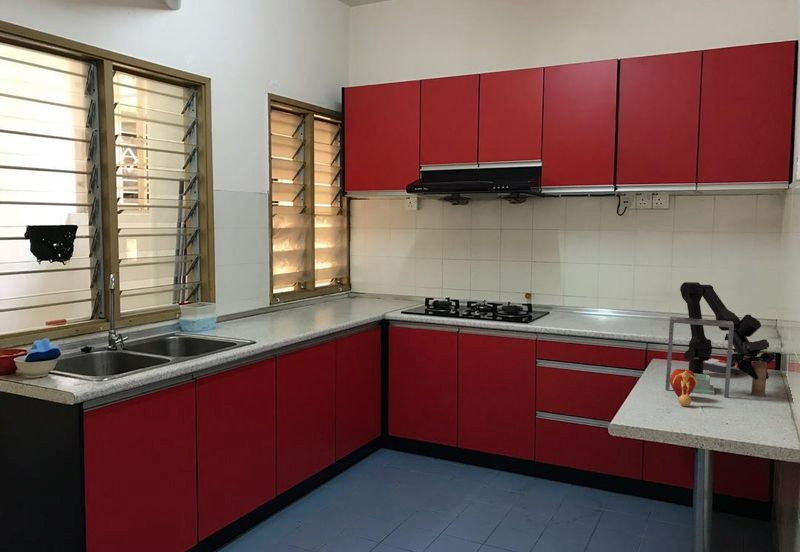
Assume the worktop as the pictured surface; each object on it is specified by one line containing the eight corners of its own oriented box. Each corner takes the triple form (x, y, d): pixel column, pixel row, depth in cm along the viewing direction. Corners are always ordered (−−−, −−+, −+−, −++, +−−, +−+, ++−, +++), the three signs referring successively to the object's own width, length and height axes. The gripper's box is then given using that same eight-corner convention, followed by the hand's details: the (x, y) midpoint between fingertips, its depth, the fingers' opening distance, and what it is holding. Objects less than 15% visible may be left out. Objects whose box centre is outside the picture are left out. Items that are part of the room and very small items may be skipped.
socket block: (679, 383, 253) (680, 371, 253) (712, 387, 248) (713, 374, 248) (678, 390, 242) (679, 377, 242) (714, 394, 237) (715, 381, 237)
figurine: (672, 406, 221) (674, 372, 220) (670, 401, 226) (672, 368, 225) (698, 408, 218) (700, 374, 217) (696, 404, 224) (698, 370, 223)
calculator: (739, 368, 269) (702, 360, 279) (738, 378, 269) (701, 370, 280) (747, 364, 277) (711, 357, 287) (746, 374, 277) (709, 366, 288)
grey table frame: (666, 385, 250) (670, 316, 247) (727, 392, 241) (732, 321, 239) (665, 390, 242) (669, 319, 240) (728, 398, 233) (733, 324, 231)
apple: (667, 398, 230) (669, 369, 229) (670, 393, 237) (671, 365, 237) (694, 402, 226) (696, 372, 225) (695, 397, 234) (697, 368, 233)
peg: (749, 393, 241) (752, 360, 240) (762, 394, 240) (765, 361, 239) (753, 396, 237) (755, 363, 236) (766, 397, 236) (768, 364, 235)
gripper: (733, 332, 238) (755, 368, 228) (774, 331, 243) (796, 366, 233) (716, 348, 246) (736, 384, 236) (756, 347, 251) (777, 382, 241)
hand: (762, 378), depth 237 cm, fingers closed on peg, 4 cm apart
